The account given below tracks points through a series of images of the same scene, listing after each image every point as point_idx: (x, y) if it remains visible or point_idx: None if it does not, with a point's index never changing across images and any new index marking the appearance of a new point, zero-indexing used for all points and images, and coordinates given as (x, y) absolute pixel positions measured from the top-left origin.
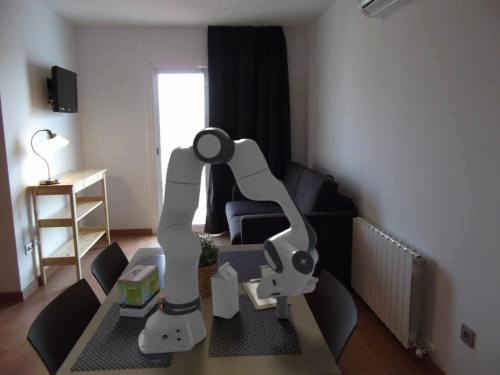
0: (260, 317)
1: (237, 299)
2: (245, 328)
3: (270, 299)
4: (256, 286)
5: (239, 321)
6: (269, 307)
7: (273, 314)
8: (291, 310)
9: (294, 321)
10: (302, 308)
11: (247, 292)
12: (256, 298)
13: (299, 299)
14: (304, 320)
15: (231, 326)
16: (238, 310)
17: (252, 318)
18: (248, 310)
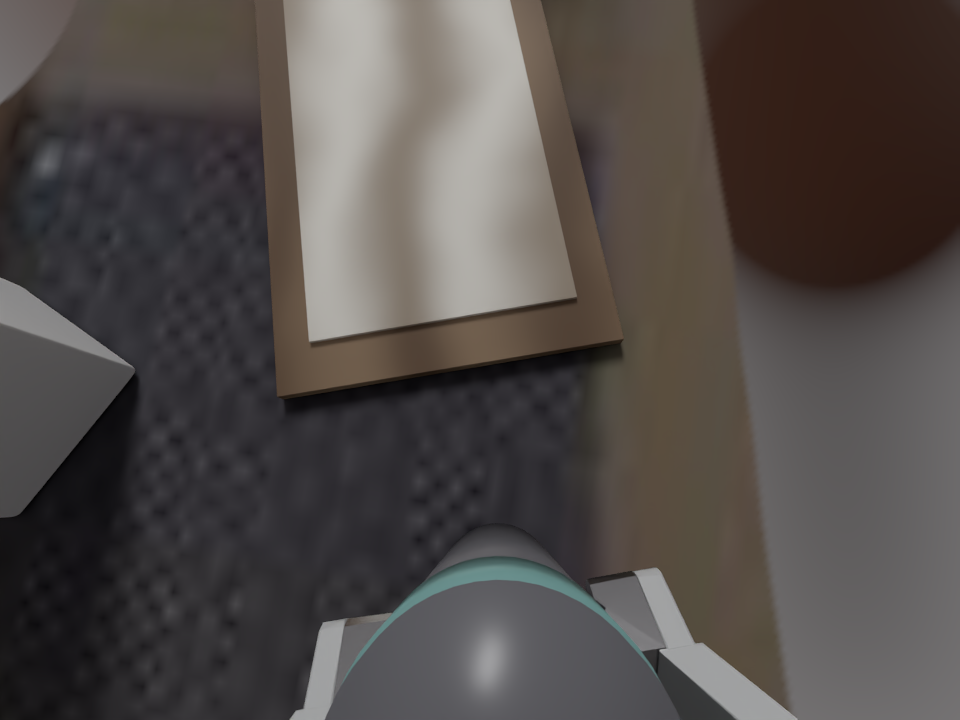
0: (298, 524)
1: (15, 358)
2: (119, 710)
3: (438, 246)
4: (358, 17)
5: (97, 565)
6: (407, 376)
7: (427, 489)
8: (608, 443)
9: None
10: (720, 422)
11: (264, 100)
12: (317, 212)
13: (709, 256)
14: None
15: (5, 645)
16: (126, 379)
17: (223, 530)
18: (219, 381)
